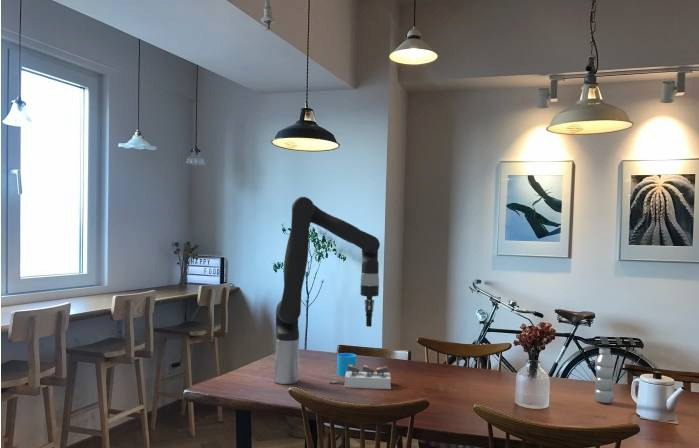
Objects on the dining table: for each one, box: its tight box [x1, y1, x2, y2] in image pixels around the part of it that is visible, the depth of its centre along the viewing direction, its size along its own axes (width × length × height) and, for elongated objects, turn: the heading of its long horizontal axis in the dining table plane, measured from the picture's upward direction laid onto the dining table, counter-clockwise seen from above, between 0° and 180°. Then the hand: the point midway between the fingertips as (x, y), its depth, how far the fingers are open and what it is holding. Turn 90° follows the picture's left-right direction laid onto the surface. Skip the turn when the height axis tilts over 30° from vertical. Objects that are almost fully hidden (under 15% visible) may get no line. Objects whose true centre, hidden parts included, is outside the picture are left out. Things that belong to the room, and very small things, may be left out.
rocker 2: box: [361, 364, 375, 374], centre depth 216 cm, size 5×3×2 cm
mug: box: [336, 352, 357, 377], centre depth 233 cm, size 12×8×8 cm
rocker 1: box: [348, 364, 361, 373], centre depth 216 cm, size 5×3×2 cm
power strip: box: [329, 371, 392, 390], centre depth 215 cm, size 25×9×5 cm, turn 87°
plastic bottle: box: [593, 347, 615, 404], centre depth 199 cm, size 6×7×20 cm
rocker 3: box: [375, 365, 389, 374], centre depth 216 cm, size 5×3×2 cm
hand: (368, 326), depth 220 cm, fingers closed
